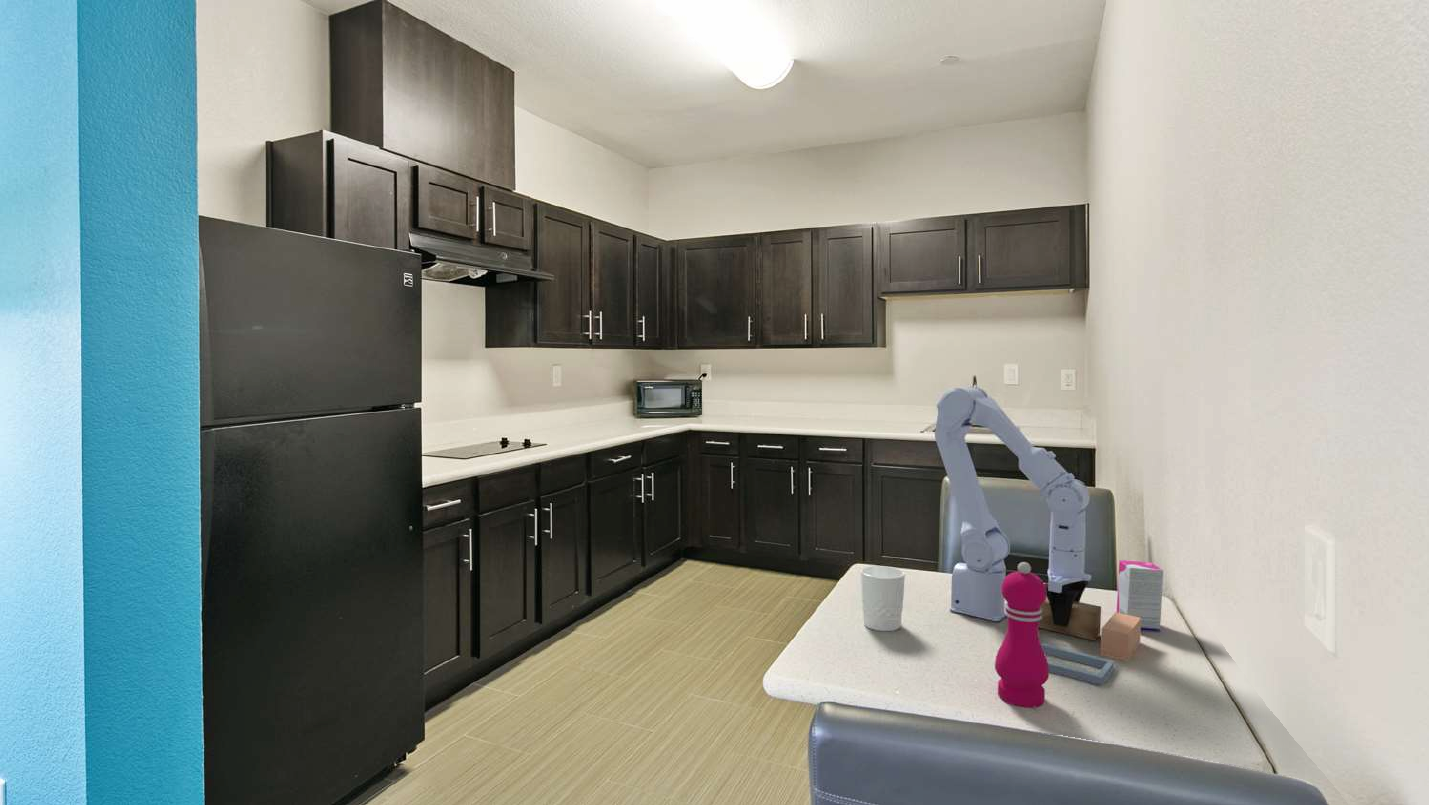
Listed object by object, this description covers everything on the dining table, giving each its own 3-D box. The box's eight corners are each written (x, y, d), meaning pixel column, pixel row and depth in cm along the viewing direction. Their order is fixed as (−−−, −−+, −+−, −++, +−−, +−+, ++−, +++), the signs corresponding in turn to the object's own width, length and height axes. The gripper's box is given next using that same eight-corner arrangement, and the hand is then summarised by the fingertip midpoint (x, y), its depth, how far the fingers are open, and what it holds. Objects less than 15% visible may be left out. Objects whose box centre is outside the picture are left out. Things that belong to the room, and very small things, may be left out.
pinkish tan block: (1100, 655, 120) (1101, 628, 120) (1114, 637, 127) (1115, 612, 127) (1127, 661, 117) (1128, 634, 117) (1140, 643, 125) (1141, 617, 125)
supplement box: (1161, 632, 130) (1164, 569, 129) (1125, 629, 131) (1128, 568, 130) (1149, 621, 135) (1151, 561, 135) (1115, 618, 136) (1117, 559, 136)
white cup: (856, 629, 131) (857, 575, 130) (864, 615, 138) (865, 564, 138) (900, 635, 128) (901, 580, 127) (906, 620, 135) (907, 568, 135)
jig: (995, 664, 116) (995, 657, 115) (1023, 639, 126) (1023, 632, 126) (1096, 692, 106) (1097, 684, 106) (1118, 662, 117) (1118, 655, 116)
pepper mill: (985, 687, 108) (988, 556, 106) (1031, 685, 108) (1035, 555, 107) (1009, 710, 100) (1012, 570, 99) (1058, 708, 101) (1062, 569, 100)
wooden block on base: (1028, 625, 132) (1029, 598, 132) (1035, 619, 135) (1036, 593, 135) (1094, 640, 125) (1095, 612, 125) (1100, 634, 128) (1101, 606, 128)
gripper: (1080, 560, 121) (1077, 639, 122) (1101, 544, 132) (1098, 616, 133) (1036, 553, 126) (1034, 628, 127) (1060, 537, 137) (1058, 607, 138)
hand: (1064, 621), depth 130 cm, fingers closed on wooden block on base, 4 cm apart
